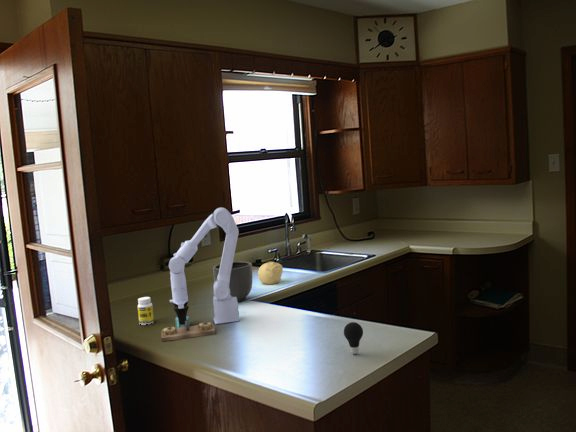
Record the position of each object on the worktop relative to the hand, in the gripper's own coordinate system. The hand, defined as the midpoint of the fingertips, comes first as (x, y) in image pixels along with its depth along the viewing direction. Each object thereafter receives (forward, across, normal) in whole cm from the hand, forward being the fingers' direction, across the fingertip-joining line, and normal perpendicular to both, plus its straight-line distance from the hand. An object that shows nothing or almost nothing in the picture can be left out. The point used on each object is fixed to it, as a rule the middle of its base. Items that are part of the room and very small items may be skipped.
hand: (182, 322), depth 212 cm
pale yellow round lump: (+2, -53, +45) cm, 70 cm away
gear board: (+1, +11, +2) cm, 11 cm away
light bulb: (+2, +57, +50) cm, 76 cm away
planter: (+2, -28, +24) cm, 37 cm away
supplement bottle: (+2, -11, -14) cm, 18 cm away
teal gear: (+1, 0, 0) cm, 1 cm away
